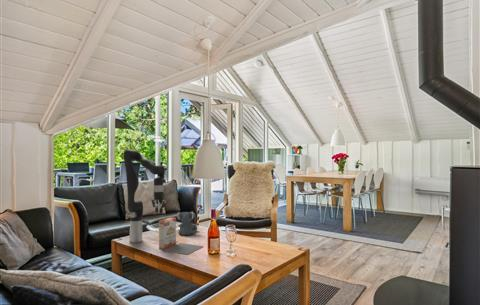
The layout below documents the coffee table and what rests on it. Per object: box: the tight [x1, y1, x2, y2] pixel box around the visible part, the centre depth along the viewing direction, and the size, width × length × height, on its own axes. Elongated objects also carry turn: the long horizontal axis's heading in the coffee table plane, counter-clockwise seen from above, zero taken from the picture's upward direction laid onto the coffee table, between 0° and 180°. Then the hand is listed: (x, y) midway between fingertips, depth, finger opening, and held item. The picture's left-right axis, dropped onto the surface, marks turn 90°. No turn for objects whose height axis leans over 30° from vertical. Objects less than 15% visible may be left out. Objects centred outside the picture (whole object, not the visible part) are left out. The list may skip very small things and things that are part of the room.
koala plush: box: [176, 211, 198, 236], centre depth 273 cm, size 17×18×20 cm
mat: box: [163, 242, 204, 256], centre depth 228 cm, size 22×20×1 cm
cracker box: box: [158, 217, 177, 250], centre depth 235 cm, size 14×6×21 cm, turn 154°
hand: (158, 212), depth 239 cm, fingers open, 3 cm apart
